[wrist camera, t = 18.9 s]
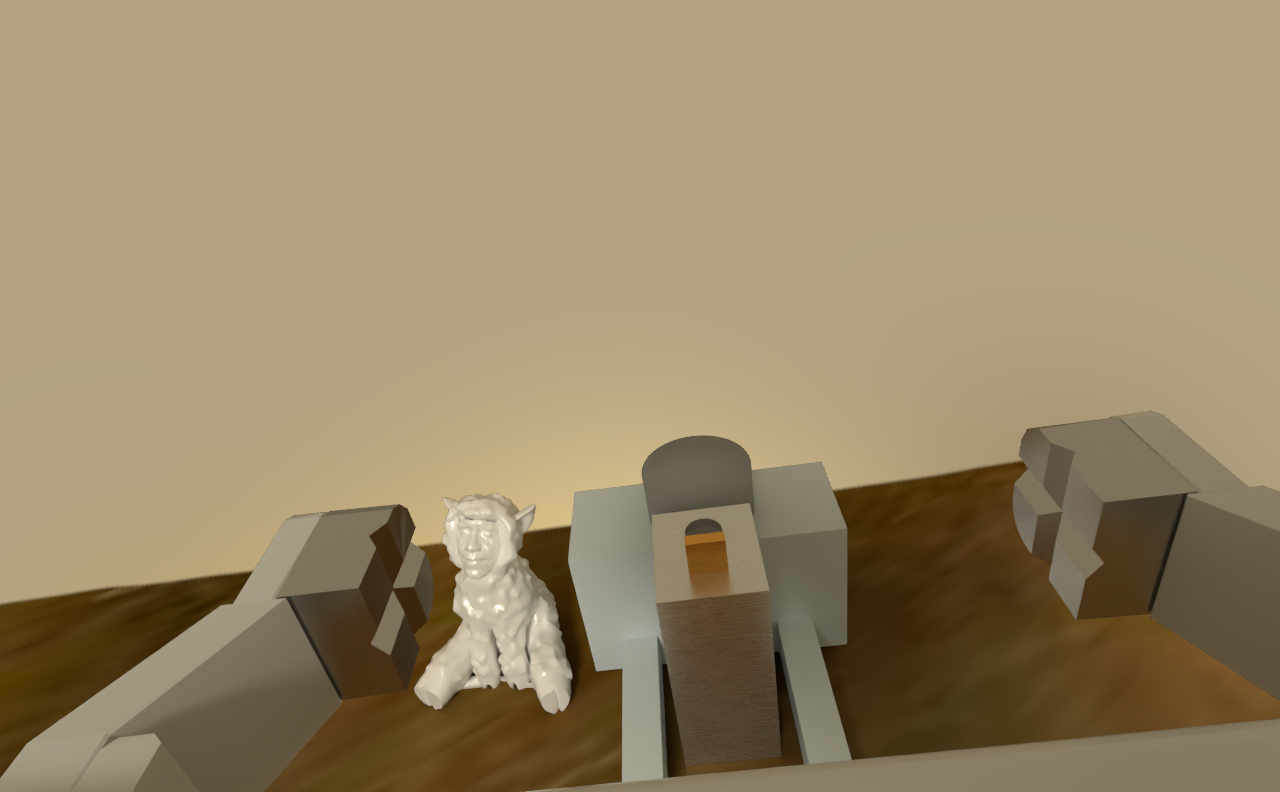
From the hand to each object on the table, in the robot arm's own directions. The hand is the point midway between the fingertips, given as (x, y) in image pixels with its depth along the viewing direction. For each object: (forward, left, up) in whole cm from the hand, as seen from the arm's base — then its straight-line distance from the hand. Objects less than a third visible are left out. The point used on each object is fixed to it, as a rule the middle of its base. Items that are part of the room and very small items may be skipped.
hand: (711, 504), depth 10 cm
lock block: (0, +18, -30) cm, 35 cm away
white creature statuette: (-13, +24, -30) cm, 41 cm away
